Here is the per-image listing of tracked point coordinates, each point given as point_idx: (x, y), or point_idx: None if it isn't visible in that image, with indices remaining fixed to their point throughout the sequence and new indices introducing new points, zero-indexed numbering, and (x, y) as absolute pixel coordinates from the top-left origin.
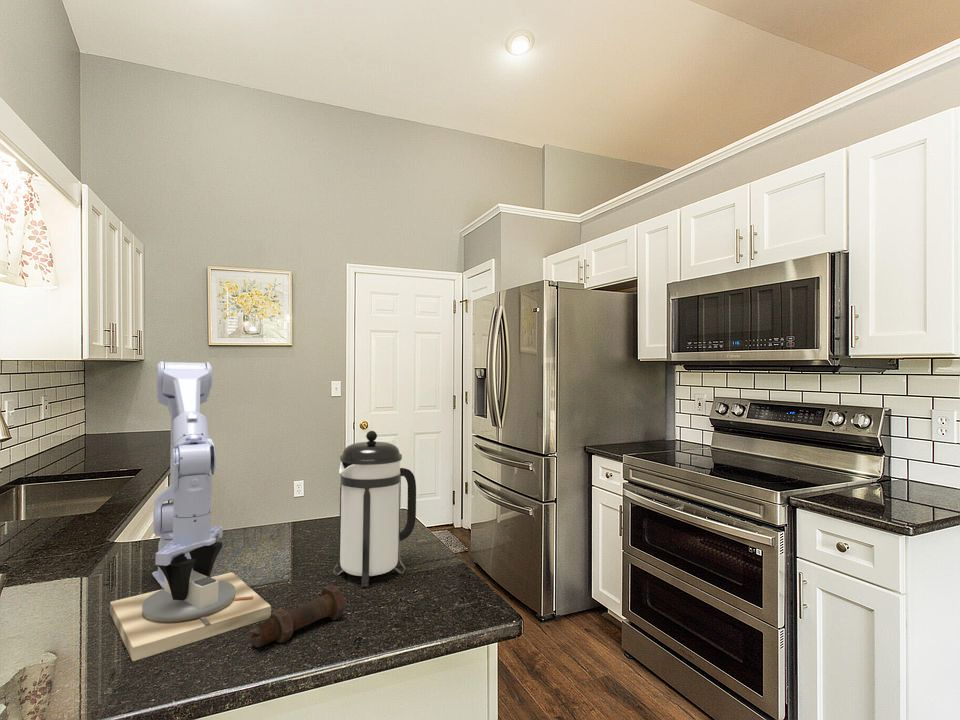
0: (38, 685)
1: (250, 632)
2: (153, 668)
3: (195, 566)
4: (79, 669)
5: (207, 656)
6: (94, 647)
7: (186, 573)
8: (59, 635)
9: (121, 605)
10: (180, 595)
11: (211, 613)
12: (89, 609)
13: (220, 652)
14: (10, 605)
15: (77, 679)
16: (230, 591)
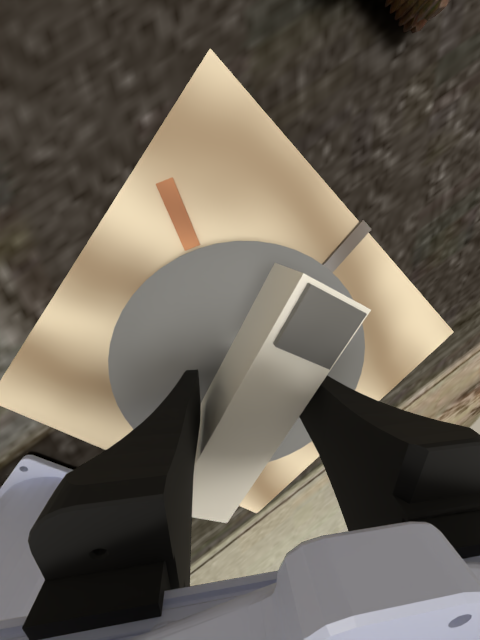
0: (469, 402)
1: (448, 1)
2: (456, 263)
3: (193, 462)
4: (436, 385)
5: (428, 166)
6: None
7: (393, 410)
8: (330, 490)
9: (269, 486)
10: None
11: None
12: (242, 524)
13: (414, 140)
14: None
15: (465, 365)
16: (184, 273)
